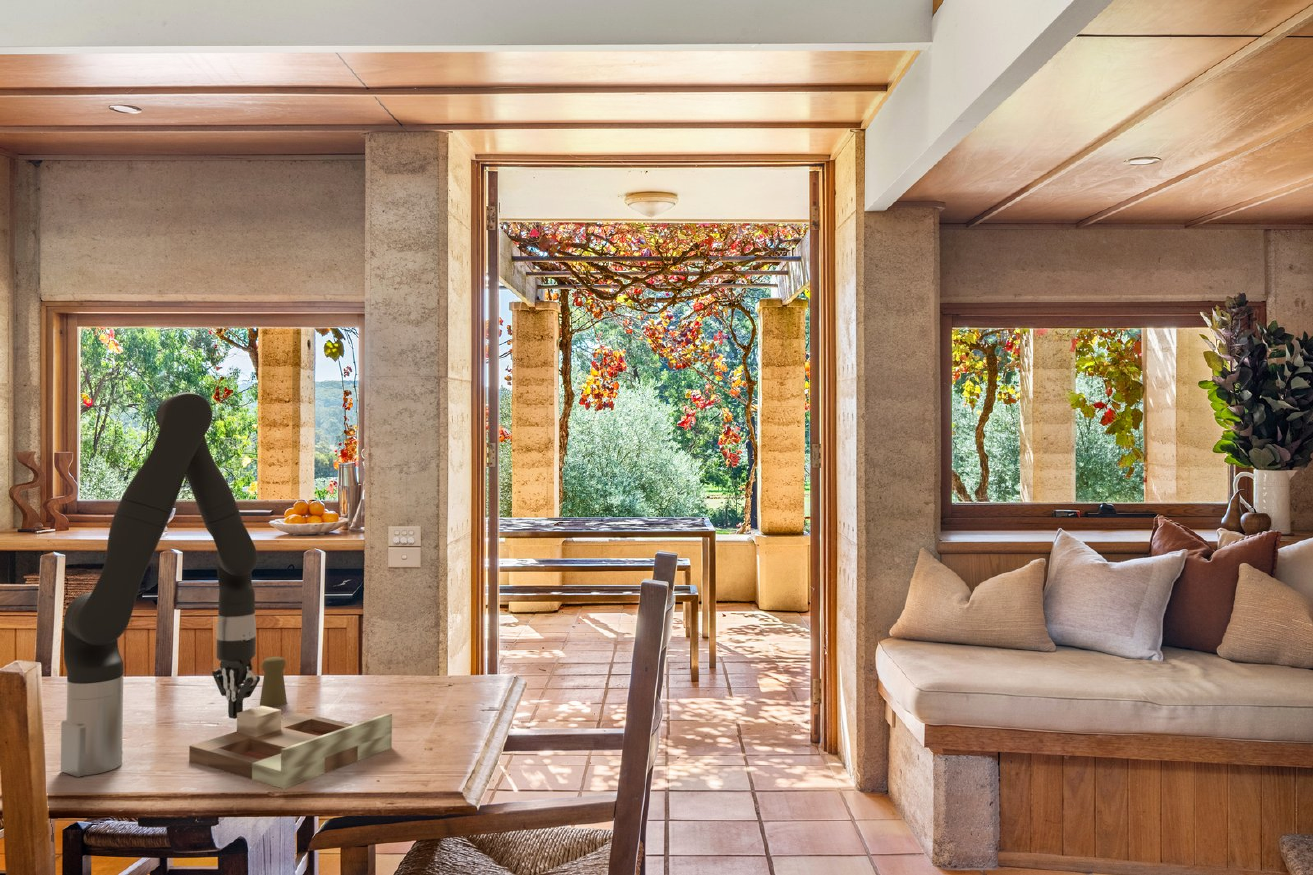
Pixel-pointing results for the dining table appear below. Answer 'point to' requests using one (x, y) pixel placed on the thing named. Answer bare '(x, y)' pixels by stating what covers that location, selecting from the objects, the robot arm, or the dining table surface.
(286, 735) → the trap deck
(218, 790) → the dining table surface
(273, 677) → the cork
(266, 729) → the block
